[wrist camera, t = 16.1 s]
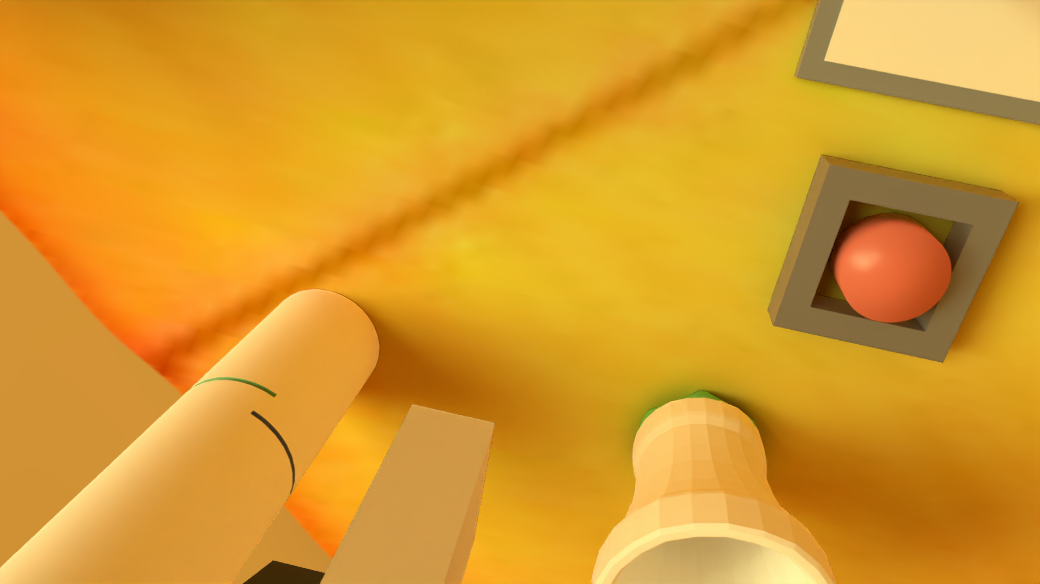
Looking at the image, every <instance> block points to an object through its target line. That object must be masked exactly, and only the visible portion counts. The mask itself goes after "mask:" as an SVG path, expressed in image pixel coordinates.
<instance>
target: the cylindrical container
mask: <svg viewBox="0 0 1040 584" xmlns="http://www.w3.org/2000/svg"><path fill="white" fill-rule="evenodd" d="M379 347H380V346H379V340H378V335H377V332H376V330H375V327H374V325H373V323H372V322H371V320H370V319H369V317H368V316H367V315H366V313H365V312H364V311H363V310H362V309H361V308H360V307H359V306H358V305H357V304H355V303H354V302H353V301H351V300H350V299H348V298H346V297H345V296H343V295H340V294H337V293H335V292H332V291H327V290H322V289H309V290H304V291H299V292H297V293H295V294H293V295H291V296H289V297H288V298H287V299H285V300H284V301H283V302H282V303H281V304H280V305H279V306H278V307H277V308H275V309H274V310H273V311H272V312H271V313H270V314H269V315H268V316H267V317H266V318H265V319H264V320H263V321H262V322H261V323H260V324H258V325H257V326H256V327H255V328H254V329H253V330H252V331H251V332H250V333H249V334H248V335H247V336H246V337H245V338H244V339H243V340H242V341H240V342H239V343H238V344H237V345H236V346H235V347H234V348H233V349H232V350H231V351H230V352H229V353H228V354H227V355H226V356H225V357H223V358H222V359H221V360H220V361H219V362H218V363H217V364H216V365H215V366H214V367H213V368H212V369H211V370H210V371H209V372H208V373H206V374H205V375H204V376H203V377H202V378H201V379H200V380H199V381H198V382H197V383H196V384H195V385H194V386H193V387H192V388H191V389H189V391H188V392H186V393H185V394H184V395H183V396H182V397H181V398H180V399H179V400H178V401H177V402H176V403H175V404H174V405H172V407H171V408H169V409H168V410H167V411H166V412H165V413H164V414H163V415H162V416H161V417H160V418H159V419H158V420H157V421H156V422H154V423H153V424H152V425H151V426H150V427H149V428H148V429H147V430H146V431H145V432H144V433H143V434H142V435H141V436H140V437H139V438H138V439H136V440H135V441H134V442H133V443H132V444H131V445H130V446H129V447H128V448H127V449H126V450H125V451H124V452H123V453H122V454H120V456H118V457H117V458H116V459H115V460H114V461H113V462H112V463H111V464H110V465H109V466H108V467H107V468H106V469H105V470H104V471H102V472H101V473H100V474H99V475H98V476H97V477H96V478H95V479H94V480H93V481H92V482H91V483H90V484H89V485H88V486H87V487H85V488H84V489H83V490H82V491H81V492H80V493H79V494H78V495H77V496H76V497H75V498H74V499H73V500H72V501H71V502H70V503H68V504H67V506H66V507H64V508H63V509H62V510H61V511H60V512H59V513H58V514H57V515H56V516H55V517H54V518H53V519H52V520H50V522H48V523H47V524H46V525H45V526H44V527H43V528H42V529H41V530H40V531H39V532H38V533H37V534H36V535H34V536H33V537H32V538H31V539H30V540H29V541H28V542H27V543H26V544H25V545H24V546H23V547H22V548H21V549H20V550H19V551H17V552H16V553H15V554H14V555H13V556H12V557H11V558H10V559H9V560H8V561H7V562H6V563H5V564H4V565H3V566H2V567H1V568H0V584H232V582H233V581H234V579H235V578H236V576H237V575H238V573H239V572H240V570H241V569H242V567H243V566H244V564H245V563H246V561H247V559H248V558H249V556H250V555H251V554H252V552H253V551H254V549H255V547H256V546H257V545H258V543H259V542H260V540H261V538H262V537H263V535H264V534H265V532H266V531H267V529H268V528H269V526H270V525H271V523H272V522H273V520H274V519H275V517H276V516H277V514H278V512H279V511H280V510H281V508H282V507H283V505H284V504H285V502H286V501H287V499H288V498H289V496H290V495H291V493H292V492H293V490H294V489H295V487H296V486H297V484H298V483H299V481H300V480H301V478H302V477H303V475H304V474H305V472H306V471H307V469H308V468H309V466H310V465H311V463H312V462H313V460H314V459H315V457H316V456H317V454H318V453H319V451H320V450H321V448H322V447H323V445H324V444H325V442H326V441H327V439H328V438H329V436H330V435H331V433H332V432H333V430H334V429H335V427H336V426H337V424H338V423H339V421H340V420H341V418H342V417H343V415H344V414H345V412H346V411H347V409H348V408H349V406H350V405H351V403H352V402H353V400H354V399H355V397H356V396H357V394H358V393H359V391H360V390H361V388H362V387H363V385H364V384H365V382H366V381H367V379H368V378H369V376H370V375H371V373H372V372H373V370H374V368H375V367H376V364H377V361H378V358H379Z"/></svg>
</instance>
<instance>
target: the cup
mask: <svg viewBox="0 0 1040 584" xmlns="http://www.w3.org/2000/svg"><path fill="white" fill-rule="evenodd" d="M632 460H633V468H634V474H635V478H636V483H635V493H634V497H633V501H632V504H631V506H630V508H629V510H628V512H627V514H626V516H625V518H624V519H623V520H622V521H621V522H619V523H618V524H617V525H616V526H615V527H614V528H613V530H612V531H611V533H610V534H609V536H608V538H607V539H606V541H605V542H604V544H603V545H602V547H601V549H600V550H599V553H598V557H597V560H596V564H595V567H594V570H593V575H592V583H591V584H836V581H835V578H834V575H833V572H832V569H831V566H830V563H829V560H828V557H827V554H826V553H825V551H824V550H823V549H822V547H821V546H820V545H819V543H818V542H817V541H816V539H815V538H814V537H813V535H812V534H811V532H810V531H809V530H808V529H807V528H806V527H805V526H804V525H803V524H801V523H800V522H799V521H798V520H797V519H796V518H794V517H793V516H792V515H791V514H790V513H788V512H787V511H786V510H785V509H783V508H782V507H781V505H780V504H779V503H778V501H777V500H776V498H775V497H774V495H773V492H772V490H771V488H770V486H769V484H768V481H767V478H766V477H767V461H766V455H765V450H764V446H763V443H762V440H761V436H760V432H759V430H758V428H757V425H756V424H755V422H754V421H753V420H752V418H750V417H749V416H747V415H746V414H744V413H743V412H742V411H741V410H740V409H738V408H737V407H735V406H732V405H730V404H727V403H726V402H724V401H722V400H721V399H719V398H717V397H715V396H713V395H711V394H710V393H708V392H707V391H697V392H695V393H693V394H691V395H689V396H686V397H684V398H681V399H679V400H675V401H671V402H668V403H667V404H665V405H663V406H660V407H656V408H653V409H649V410H648V412H647V413H646V414H645V415H644V417H643V419H642V421H641V424H640V427H639V429H638V431H637V434H636V437H635V440H634V444H633V457H632Z"/></svg>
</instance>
